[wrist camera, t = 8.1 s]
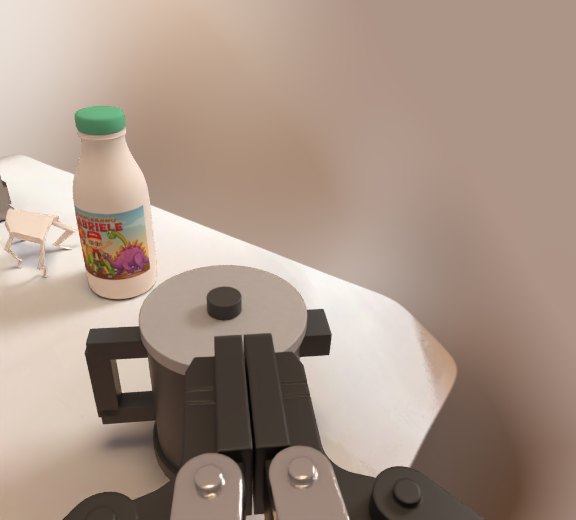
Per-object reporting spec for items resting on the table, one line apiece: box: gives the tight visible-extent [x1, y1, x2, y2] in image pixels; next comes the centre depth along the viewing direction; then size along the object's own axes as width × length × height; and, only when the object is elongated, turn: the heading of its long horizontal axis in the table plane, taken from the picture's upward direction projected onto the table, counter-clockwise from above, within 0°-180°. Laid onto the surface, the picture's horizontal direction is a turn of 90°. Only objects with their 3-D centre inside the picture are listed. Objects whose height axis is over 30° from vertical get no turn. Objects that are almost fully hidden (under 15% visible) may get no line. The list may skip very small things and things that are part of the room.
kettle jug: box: [85, 265, 332, 493], centre depth 39 cm, size 13×17×14 cm
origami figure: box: [4, 208, 77, 278], centre depth 64 cm, size 12×8×5 cm
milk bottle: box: [73, 106, 157, 299], centre depth 56 cm, size 8×8×20 cm
